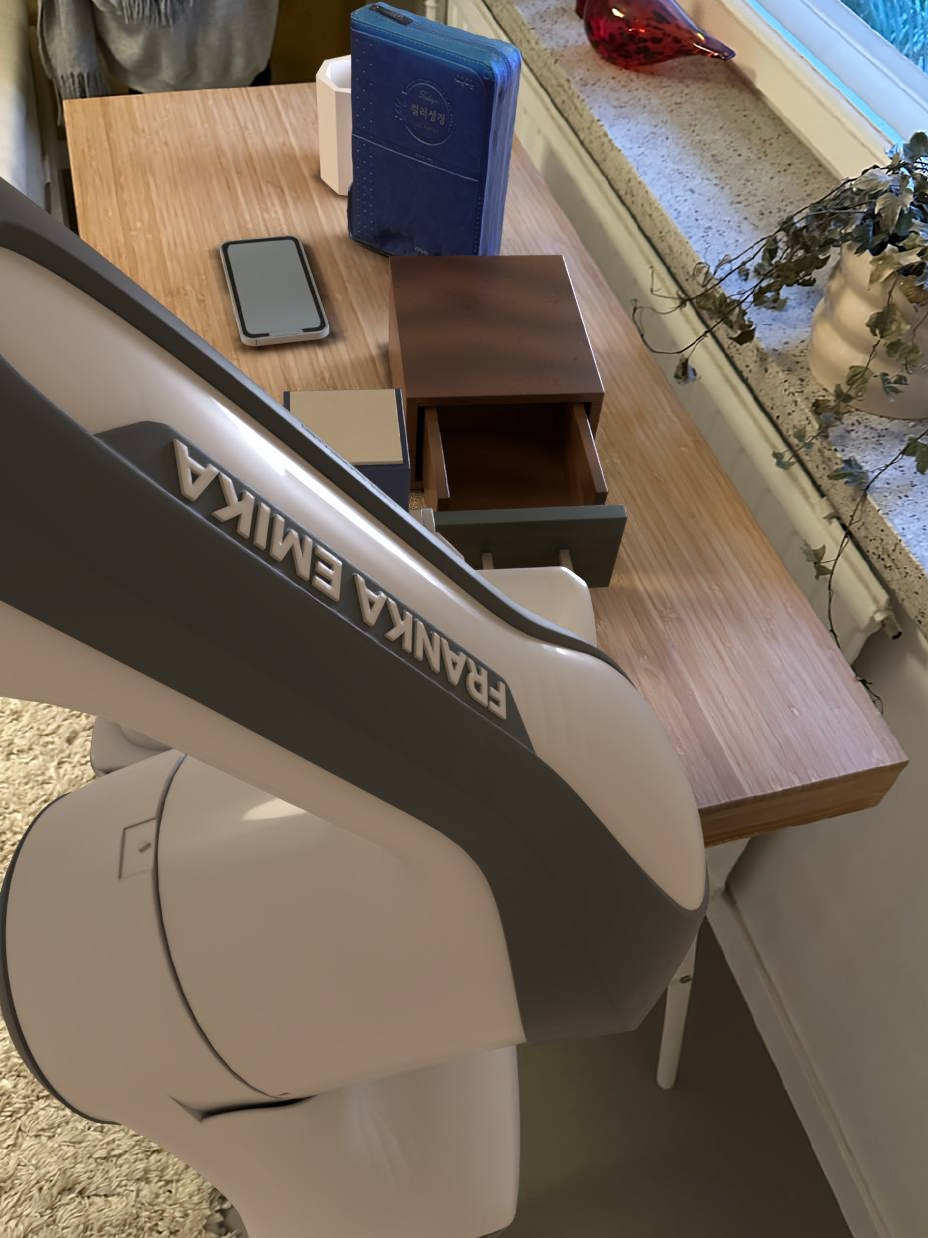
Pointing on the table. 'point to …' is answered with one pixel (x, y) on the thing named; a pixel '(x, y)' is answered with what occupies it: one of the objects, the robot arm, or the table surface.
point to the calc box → (361, 432)
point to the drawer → (520, 487)
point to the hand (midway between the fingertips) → (348, 519)
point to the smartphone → (272, 290)
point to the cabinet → (487, 336)
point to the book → (429, 135)
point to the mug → (335, 123)
